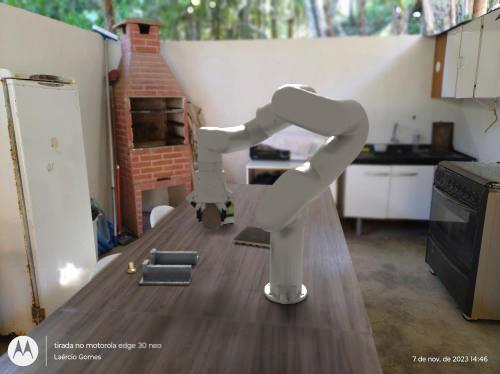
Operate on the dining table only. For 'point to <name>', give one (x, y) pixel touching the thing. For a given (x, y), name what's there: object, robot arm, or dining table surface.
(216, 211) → the vase
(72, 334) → the dining table surface
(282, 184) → the robot arm
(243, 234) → the hardcover book
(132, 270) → the brass key
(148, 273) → the bracket
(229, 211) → the tea box
